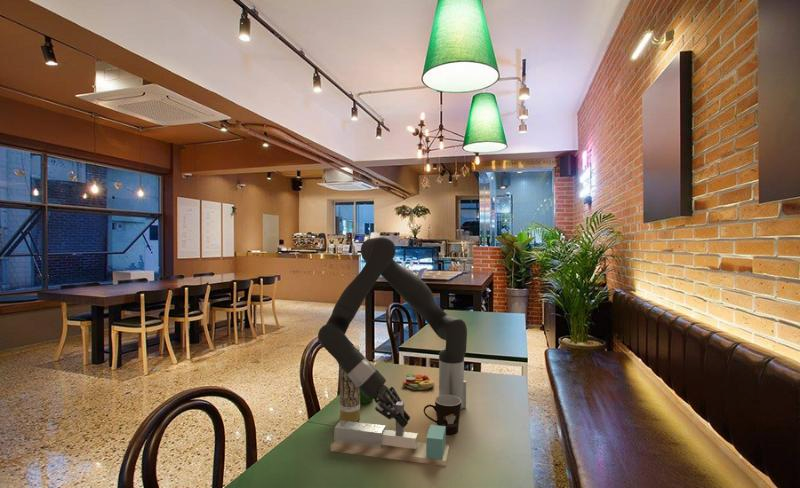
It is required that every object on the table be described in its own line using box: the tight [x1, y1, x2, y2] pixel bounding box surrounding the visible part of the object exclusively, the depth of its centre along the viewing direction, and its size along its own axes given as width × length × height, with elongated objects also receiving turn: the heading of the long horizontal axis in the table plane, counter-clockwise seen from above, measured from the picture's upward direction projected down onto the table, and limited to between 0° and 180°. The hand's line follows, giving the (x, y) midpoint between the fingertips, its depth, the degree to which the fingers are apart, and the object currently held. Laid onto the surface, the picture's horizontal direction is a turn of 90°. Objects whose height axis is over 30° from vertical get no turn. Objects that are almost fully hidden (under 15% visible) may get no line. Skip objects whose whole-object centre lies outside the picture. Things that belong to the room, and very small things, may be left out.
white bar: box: [382, 401, 419, 449], centre depth 116 cm, size 19×3×12 cm, turn 77°
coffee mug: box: [423, 395, 462, 437], centre depth 128 cm, size 12×9×10 cm
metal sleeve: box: [333, 419, 386, 449], centre depth 118 cm, size 14×5×5 cm, turn 77°
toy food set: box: [402, 373, 435, 391], centre depth 167 cm, size 13×13×3 cm
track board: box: [330, 441, 450, 467], centre depth 116 cm, size 34×8×2 cm, turn 77°
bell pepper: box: [360, 391, 374, 404], centre depth 151 cm, size 8×8×10 cm
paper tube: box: [339, 344, 361, 422], centre depth 135 cm, size 7×7×25 cm
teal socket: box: [425, 424, 447, 460], centre depth 112 cm, size 4×8×6 cm, turn 166°
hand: (406, 422), depth 114 cm, fingers closed on white bar, 2 cm apart
